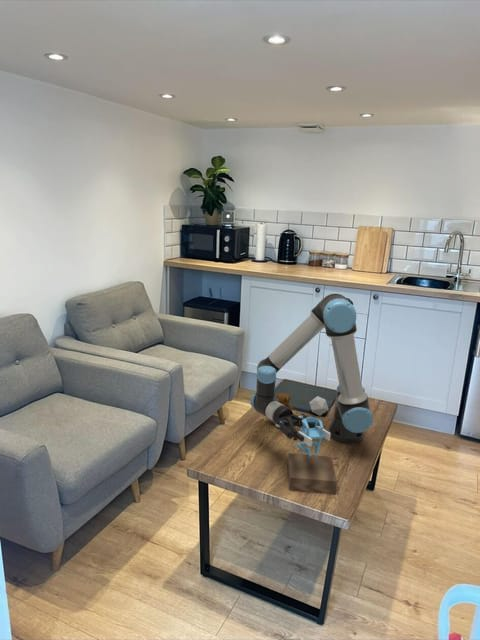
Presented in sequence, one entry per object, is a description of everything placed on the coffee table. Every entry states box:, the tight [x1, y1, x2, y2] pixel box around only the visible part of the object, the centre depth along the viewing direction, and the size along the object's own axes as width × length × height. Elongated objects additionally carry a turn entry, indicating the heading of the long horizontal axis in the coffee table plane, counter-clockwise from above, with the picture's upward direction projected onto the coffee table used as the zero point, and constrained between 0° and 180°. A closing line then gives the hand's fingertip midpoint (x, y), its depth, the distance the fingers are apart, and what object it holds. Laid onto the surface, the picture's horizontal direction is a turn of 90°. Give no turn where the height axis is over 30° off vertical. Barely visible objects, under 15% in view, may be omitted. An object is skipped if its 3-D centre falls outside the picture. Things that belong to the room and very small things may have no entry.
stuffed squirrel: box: [269, 392, 294, 426], centre depth 212 cm, size 10×14×13 cm
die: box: [308, 395, 329, 417], centre depth 223 cm, size 8×9×10 cm
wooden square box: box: [287, 453, 338, 495], centre depth 169 cm, size 16×16×5 cm
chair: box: [296, 416, 324, 456], centre depth 166 cm, size 8×8×12 cm
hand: (320, 439), depth 162 cm, fingers closed on chair, 8 cm apart
